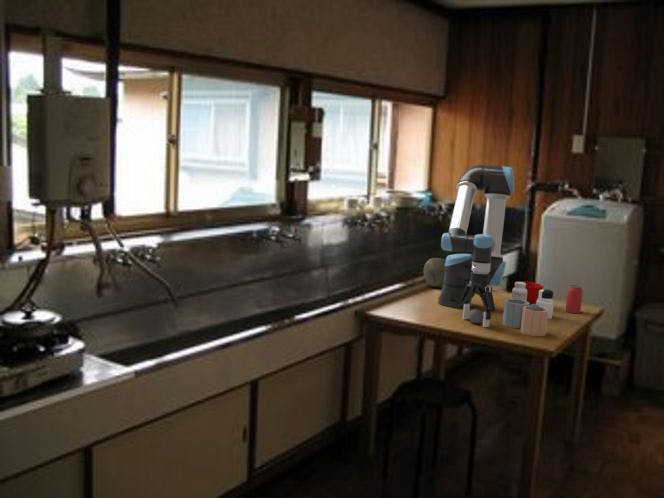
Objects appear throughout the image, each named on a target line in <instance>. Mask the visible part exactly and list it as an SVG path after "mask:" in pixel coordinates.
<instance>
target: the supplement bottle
mask: <svg viewBox="0 0 664 498" xmlns="http://www.w3.org/2000/svg"><path fill="white" fill-rule="evenodd" d="M523 282H524V281H515V282H514V287H513V288H512V290H511V299H519V300H524V301H527V289H525V286H526V283H523Z"/></svg>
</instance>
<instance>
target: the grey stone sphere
mask: <svg viewBox="0 0 664 498" xmlns="http://www.w3.org/2000/svg"><path fill="white" fill-rule="evenodd" d="M445 263H446V259H444V258H440V257H431V258H429V259H428V260H426V262H425V264H424V266H423V270H422V271H423V277H424V280H425V282H426V283H428V285H429V286H431V287H432V288H436V289H440V288H443V285H444V274H445Z"/></svg>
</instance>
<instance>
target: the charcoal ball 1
mask: <svg viewBox="0 0 664 498" xmlns="http://www.w3.org/2000/svg"><path fill="white" fill-rule="evenodd" d="M483 318H484V312H483V311H482V310H481V309H479V308H473V309H472V310H470V311H469V319H468V320H469V321H470V322H471V323H473V324H480V323H482V322H483Z"/></svg>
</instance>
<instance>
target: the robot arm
mask: <svg viewBox="0 0 664 498" xmlns="http://www.w3.org/2000/svg"><path fill="white" fill-rule="evenodd" d="M514 175H515V174H514V169H513V168H512V167H510V166H505V165H485V164H476V165H472V166H471V167H469V168H468V169H466V170H465V171H464V172H463V173H462V174H461V175H460V177H459V178H458V180H457V184H456V189H455V190H456V191H457V193H456V194H457V195H456V198H455V203H454V205H453V206H454V208H453V211H452V215H451V219H450V224H449V229H448V232H444V233H443V234H442V236H441V241H440V242H441V243H440V247H441V249H442V250H443V251H447V252H455V254H450V255H447V256H446V258H445V260H446V263H445V274H444V285H443V287H442V289H441V292H440V294H439V295H438V299H437V303H438V304H439V305H442V306H445V307H450V308H457V309H459V308H460V309H461V308H462V320H470V319H469V313H470V311H471V309H470V307H471V306H472V303H473V302H472V299H473V298H474V296H475V295H478V296H479V298H480V299H481V301H482V304H483V308H484V311H483V316H484V317H483V320H482V328H490V320H491V319H492V318H491V317H492V316H491V315H492V312H495V311H496V306H495V301H494V296H493V287H499V286H500V285H501V284H502V282H503V278H504V274H505V270H506V265H507V262H506V261H505V260H504V256H503V255H502V254H501V252H502V251H501V250H502V242H503V232H504V223H505V215H506V214H505V213H506V205H507V200H509V199H510V198H511V194H514V193H515V176H514ZM478 191H482V192H484V193H483V195H484V197H485V199H486V203H485V204H486V205H485V211H484V212H485V213H484V221H483V222H484V223H483V230H482V233H478V234H475V235H469V234H467V232H468V228H469V223H470V217H471V213H472V208H473V203H474V198H475V196H476V195H477V193H478ZM457 252H458V253H457Z"/></svg>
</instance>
